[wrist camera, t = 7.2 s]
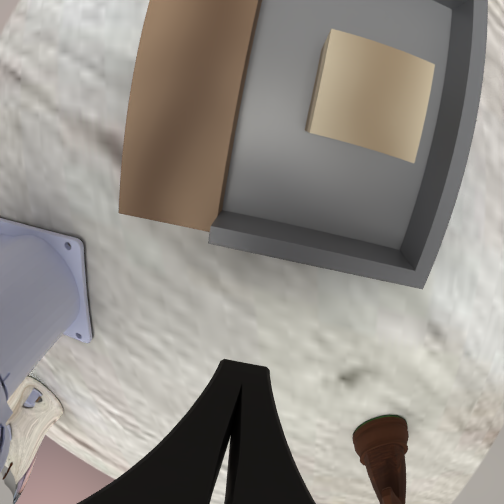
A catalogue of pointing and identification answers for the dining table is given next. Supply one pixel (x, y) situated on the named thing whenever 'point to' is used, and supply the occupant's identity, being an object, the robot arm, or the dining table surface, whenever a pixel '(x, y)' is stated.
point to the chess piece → (384, 456)
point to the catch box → (346, 154)
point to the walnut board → (185, 109)
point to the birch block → (370, 95)
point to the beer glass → (26, 434)
